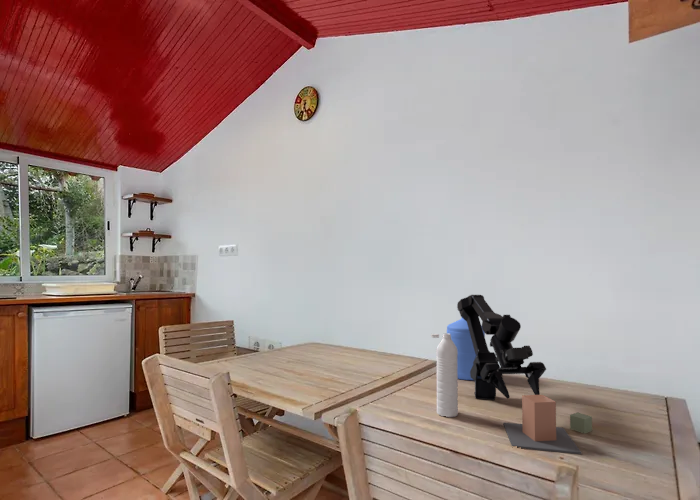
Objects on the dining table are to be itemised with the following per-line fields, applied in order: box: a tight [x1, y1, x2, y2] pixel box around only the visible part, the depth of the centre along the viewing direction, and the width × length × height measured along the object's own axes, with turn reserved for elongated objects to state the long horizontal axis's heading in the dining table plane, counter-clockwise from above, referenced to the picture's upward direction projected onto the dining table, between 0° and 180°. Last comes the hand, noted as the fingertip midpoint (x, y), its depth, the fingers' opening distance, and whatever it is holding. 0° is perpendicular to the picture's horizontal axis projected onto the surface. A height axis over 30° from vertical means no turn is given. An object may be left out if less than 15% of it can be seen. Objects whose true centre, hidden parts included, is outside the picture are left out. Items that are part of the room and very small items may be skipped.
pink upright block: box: [521, 394, 557, 441], centre depth 110 cm, size 6×6×10 cm
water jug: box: [446, 317, 486, 381], centre depth 174 cm, size 16×16×28 cm
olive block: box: [569, 412, 593, 435], centre depth 116 cm, size 4×4×4 cm
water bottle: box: [430, 332, 459, 418], centre depth 128 cm, size 9×6×25 cm
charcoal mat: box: [503, 421, 582, 455], centre depth 110 cm, size 16×16×1 cm
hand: (523, 397), depth 118 cm, fingers open, 9 cm apart
